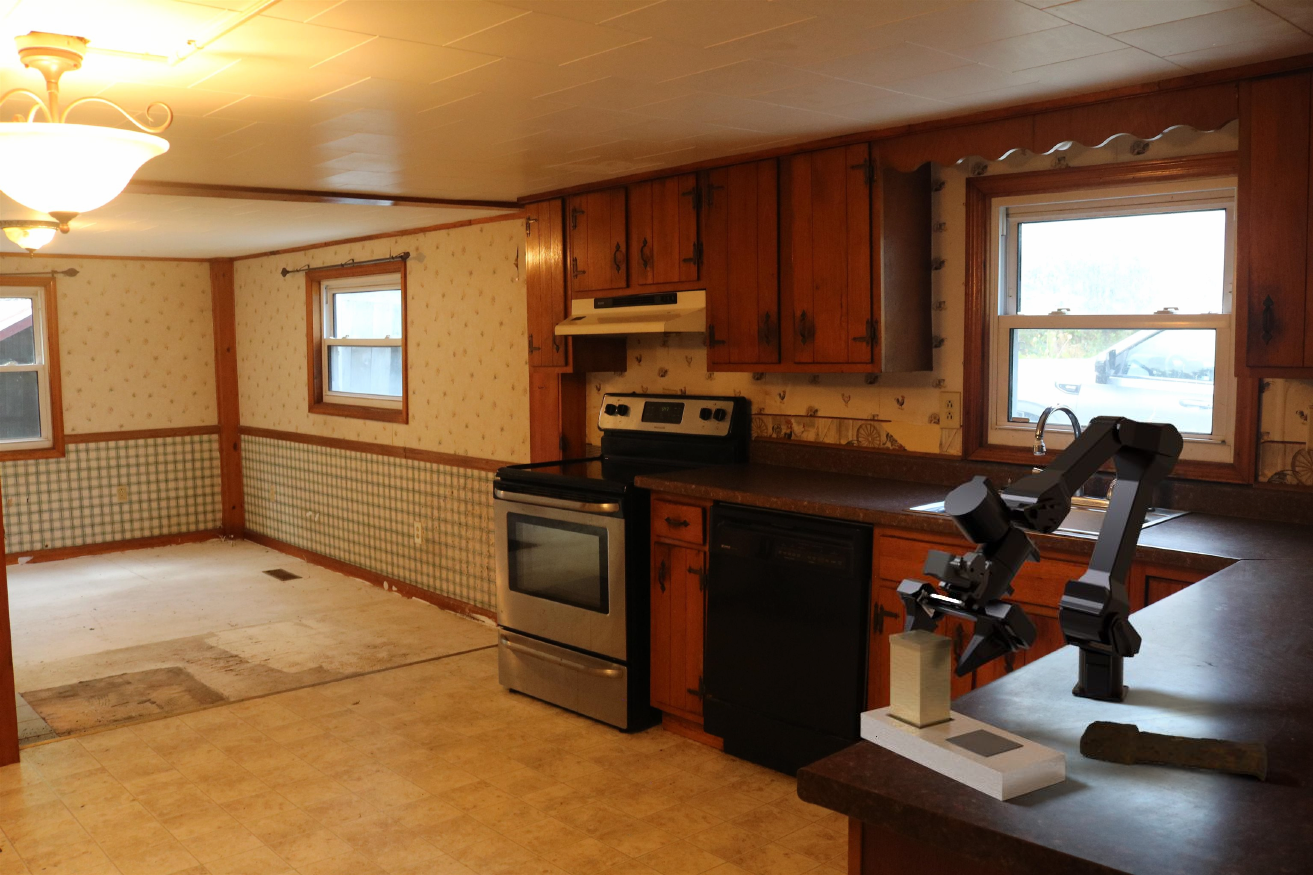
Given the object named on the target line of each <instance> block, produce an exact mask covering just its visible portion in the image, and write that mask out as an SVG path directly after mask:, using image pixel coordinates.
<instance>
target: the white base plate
mask: <svg viewBox="0 0 1313 875" xmlns="http://www.w3.org/2000/svg"><path fill="white" fill-rule="evenodd" d="M876 736H877V737H876ZM860 737H861V738H863V739H865V740H867V741H869V742H872V743H874V744H876V745H879V746H880V747H882V748H885V749H887V750H890V751H892V752H893V753H896V754H898V755H900V756H902V757H904V758H907V759H909V760H911V761H914V762H916V763H918V764H919V765H922V766H924V767H926V768H929V769H931V770H933V771H935V772H938V773H940V774H941V775H944V776H946V777H948V778H950V779H953V780H955V781H958V782H960V783H961V784H963V785H966V786H968V787H970V788H973V789H974V790H977V791H979V792H981V793H983V794H986V795H988V796H990V797H993V798H994V799H997V800H999V801H1001V802H1003V801H1006V800H1010V799H1012V798H1016V797H1019V796H1022V795H1025V794H1028V793H1030V792H1031V793H1032V792H1034V791H1037V790H1039V789H1043V788H1046V787H1049V786H1052V785H1055V784H1059V783H1062V782H1064V781H1066V753H1065V752H1061V751H1059V750H1056V749H1054V748H1052V747H1048V746H1046V745H1043V744H1041V743H1038V742H1035V741H1033V740H1030V739H1027V738H1024V737H1023V736H1019V735H1017V734H1015V733H1011V732H1009V731H1006V730H1004V729H1001V728H998V727H995V726H993V725H990V724H988V723H986V722H983V721H980V720H977V719H974V718H972V717H970V716H967V715H964V714H961V713H959V712H956V711H954V710H952V709H950V722H946V723H943V724H939V725H935V726H931V727H927V728H923V729H917V728H915V727H913V726H910V725H908V724H905V723H903V722H901V721H898V720H896V719H893V718H891V717H890V705H889V706H884V707H881V708H877V709H873V710H872V709H871V710H868V711H864V712H861V713H860Z"/></svg>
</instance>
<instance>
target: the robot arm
mask: <svg viewBox="0 0 1313 875" xmlns="http://www.w3.org/2000/svg"><path fill="white" fill-rule="evenodd" d="M1183 449H1184V438H1183V435H1182V433H1181V432H1179V429H1178V428H1177V427H1176V426H1175V425H1174V424H1173V423H1171V422H1169V423H1168V422H1153V421H1152V422H1151V421H1147V422H1146V421H1138V420H1134V419H1130V418H1127V417H1126V416H1124V415H1123V416H1119V415H1097V416H1095V417H1092V418H1091V419H1090V420H1089V422H1088V424H1087V427H1086V428H1085V429H1084V430H1083V431H1082V432H1081V433H1080V434H1079V435H1078V436H1077V437H1075V439H1074V440H1073V441H1072V442H1070V444H1069V445H1067V447H1065V448H1064V449H1063V451H1061V452H1060V453H1059V454H1058V455H1057V456H1056V457H1055V458H1054V459H1053V460H1052V461H1051V462H1050V463H1049V464H1048V465H1047V466H1046V467H1045V468H1044V469H1042V470H1040V471H1039V472H1037V473H1034V474H1031V475H1027V476H1025V477H1022V478H1020V479H1018V480H1017V481H1015V482H1014V483H1012V484H1010V485H1009V486H1008V487H1006V488H1005V489H1004V491H1003V492H1002V493H1001V494H999V491H998V490H997V489H996V487H995V486H994V483H993V481H992V480H991V479H990V477H989V476H984V475H975V476H974V477H973V478H972V479H971V481H969V482H968V481H967V482H965V483H962V484H961V485H959V486H958V487H956V488H955V489H953V490H952V491H950V492H949V493H948V494H947V496H946V497H945V499H944V503H943V508H944V511H945V512H946V513H947V514H948V516H949V517H950V518H951V520H952V521H953V523H954V524H955V525H956V526H957V527H958V529H959V530H960V531H961V533H962V534H963V535H964V537H965V538H966V539H967V540H968V541H969V542H970V543H972V544H975V545H977V544H978V546H977V547H976V549H975V551H974V552H971V551H967V552H966V553H965V554H964V555H963V556H962V555H956V554H955V553H954V554H953V553H952V552H951V553H950V552H947V551H946V552H945V551H941V550H936V549H929V550H928V553H927V556H926V559H925V563H924V565H923V568H922V570H921V574H922V575H923V576H929V577H932V578H934V579H936V580H938V581H940V582H939V583H938V586H939V588H940V589H941V590H942V591H944V592H945V593H946V594H947V595H946V596H943V595H941V594H940V593H939V592H938V591H937V590H936V588H935V587H934V586H933V585H932V584H931V583H930V582H928V581H925V580H920V579H916V578H912V577H910V578H909V577H908V578H904V579H903V580H902V582H901V583H900V584H899V586H898V587H897V589H896V590H895V593H896V594H897V595H898V596H899V597H900V602H901V603H902V604H903V605H904V607H905V612H906V618H905V624H904V628H903V632H908V631H914V630H919V629H922V630H925V631H929V632H932V633H935V632H936V630H937V629H938V628H939V627H940V626H939V625H938V624H937V623H938V622H940V621H942V620H943V619H944V618H945V616H946V615H951V616H955V617H959V618H963V619H966V620H970V621H974V622H976V627H975V634H974V635H973V637H972V638H971V640H970V641H969V644H967V647H966V648H965V650H964V651H963V653H962V654H961V656H960V658H959V660H958V662H957V665H956V666H955V667H954V668H955V669H954V670H953V674H954V676H956V677H957V678H959V679H961V678H963V677H965V676H967V675H968V674H970V673H972V672H973V671H975V670H977V669H979V668H981V667H983V666H984V665H987V664H988V663H990V662H992V661H994V660H996V659H998V658H1001V657H1003V656H1004V655H1007V654H1009V653H1011V652H1013V653H1018V652H1019V651H1020V648H1022V649H1025V650H1030V649H1031V647H1032V646H1033V644H1034V643H1035V641H1036V639H1037V638H1038V629H1037V625H1036V624H1035V623H1034V622H1033V621H1032V619H1031V618H1030V617H1029V615H1028V614H1027V613H1026V611H1025V610H1024V609H1023V607H1022V606H1021V605H1020V604H1019V603H1014V602H1012V601H1007V600H1003V596H1007V597H1010V598H1011V597H1012V596H1013V594H1014V592H1016V591H1015V589H1014V588H1013V586H1012V584H1011V583H1013V580H1015V578H1016V577H1017V574H1019V572H1020V570H1021V568H1022V567H1023V565H1024V564H1025V563H1026V561H1027V562H1031V563H1036V564H1039V563H1041V560H1042V558H1041V553H1040V549H1039V546H1038V545H1039V544H1038V543H1039V542H1038V541H1037V540H1031V539H1030V538H1029V536H1028V535H1027V534H1026V532H1030V533H1031V532H1032V533H1037V534H1043V535H1050V534H1051V535H1052V534H1053V533H1055V532H1056V531H1057V530H1058V529H1059V527H1060V526H1061V525H1062V524H1063V522H1064V521H1065V520H1066V518H1067V516H1068V515H1069V514H1070V513H1071V511H1072V498H1073V497H1074V496H1075V494H1076V493H1077V492H1078V491H1079V490H1080V489H1081V488H1082V487H1083V486H1084V485H1085V484H1086V483H1087V482H1088V481H1089V480H1090V479H1091V478H1093V476H1094V475H1095V474H1096V473H1097V472H1098V471H1099V470H1100V469H1101V468H1102V467H1103V466H1104V465H1105V464H1106V463H1107V462H1108V461H1109V460H1110V459H1111V461H1112V464H1113V467H1114V468H1113V469H1114V471H1115V475H1116V479H1115V483H1114V485H1113V489H1112V492H1111V495H1110V497H1109V502H1108V505H1107V507H1106V511H1105V514H1104V518H1103V520H1102V524H1101V526H1100V530H1099V533H1098V534H1097V535H1098V536H1097V538H1096V539H1097V540H1096V542H1095V545H1094V549H1093V552H1092V555H1091V557H1090V561H1089V564H1088V566H1087V567H1088V568H1087V569H1086V572H1085V573H1084V574H1083V575H1082V576H1081V577H1080V578H1078V579H1073V578H1069V579H1068V580H1067V581H1066V583H1065V585H1064V590H1063V594H1062V596H1061V599H1060V601H1059V602H1058V607H1059V610H1058V616H1057V618H1058V621H1059V622H1058V623H1059V626H1060V630H1061V633H1062V638H1063V642H1064V644H1065V645H1068V646H1074V647H1077V648H1078V675H1077V676H1078V681H1077V682H1076V684H1074V687H1073V688H1072V689H1071V694H1072V695H1074V696H1079V697H1086V698H1094V699H1100V700H1105V701H1106V700H1108V701H1114V702H1119V703H1121V702H1124V701H1125V699H1126V697H1127V695H1128V692H1129V690H1130V686H1129V685H1125V684H1124V671H1125V670H1124V666H1125V665H1124V664H1125V662H1124V660H1125V658H1135V655H1137V654H1139V653H1140V650H1141V644H1142V640H1143V638H1142V637H1141V635H1140V634H1139V633H1138V631H1137V630H1136V628H1135V627H1134V626H1133V624H1132V623H1131V622H1130V620H1129V618H1130V617H1129V616H1130V612H1131V603H1130V600H1129V597H1128V593H1127V590H1126V586H1125V585H1126V580H1127V577H1128V574H1129V571H1130V567H1131V564H1132V562H1133V558H1134V554H1135V551H1136V549H1137V545H1138V542H1139V538H1140V536H1141V532H1142V529H1143V526H1144V523H1145V520H1146V516H1147V512H1148V511H1149V510H1148V509H1149V507H1150V504H1151V501H1152V497H1153V494H1154V491H1155V488H1156V487H1157V486H1159V484H1160V483H1162V482H1163V481H1164V480H1165V479H1166V478H1167V477H1168V476H1170V475H1171V474H1172V473H1173V472H1174V469H1175V467H1176V465H1177V463H1178V461H1179V458H1180V455H1181V454H1182V451H1183ZM1025 531H1026V532H1025Z"/></svg>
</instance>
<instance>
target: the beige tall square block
mask: <svg viewBox="0 0 1313 875" xmlns="http://www.w3.org/2000/svg"><path fill="white" fill-rule="evenodd" d="M888 636H889V638H888V640H889V643H890V648H889V649H890V650H889V651H890V652H889V654H890V657H889V658H890V661H889V662H890V663H889V664H890V670H889V671H890V672H889V673H890V677H889V678H890V684H889V685H890V688H889V689H890V690H889V691H890V693H889V694H890V695H889V696H890V699H889V701H890V702H889V704H890V705H889V706H890V717H891V718H893V719H896V720H898V721H901V722H903V723H905V724H908V725H910V726H913V727H915V728H917V729H923V728H927V727H931V726H935V725H939V724H943V723H946V722H950V710H951V679H952V678H951V673H952V672H951V665H952V663H951V660H952V658H951V657H952V656H951V655H952V654H951V653H952V651H951V650H952V648H951V647H952V646H953V638H952V637H949V636H945V635H941V634H938V633H935V632H933V633H932V632H929V631H925V630H922V629H919V630H914V631H908V632H904V631H903V632H899V633H894V634H889V635H888Z"/></svg>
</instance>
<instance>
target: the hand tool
mask: <svg viewBox="0 0 1313 875" xmlns="http://www.w3.org/2000/svg"><path fill="white" fill-rule="evenodd" d="M1079 754H1081V756H1084V757H1086V758H1091V759H1095V760H1099V761H1101V760H1102V762H1110V763H1115V764H1121V765H1125V766H1126V765H1127V766H1134V765H1136V764H1139V763H1149V764H1161V765H1165V766H1166V765H1169V766H1175V767H1176V766H1177V767H1179V766H1180V767H1186V768H1192V769H1193V768H1194V769H1200V770H1206V771H1207V770H1208V771H1216V772H1223V773H1229V774H1235V775H1249V776H1250V775H1251V776H1255V777H1257V778H1258V779H1259V780H1260V781H1261V782H1264V781H1265V780H1266V777H1267V773H1268V772H1267V770H1268V753H1267V749H1266V746H1265V743H1264V742H1262V741H1259V740H1257V741H1251V742H1242V741H1241V742H1240V741H1233V740H1228V739H1222V738H1220V739H1218V738H1214V737H1213V738H1211V737H1209V738H1208V737H1201V738H1199V737H1192V736H1184V735H1183V736H1181V735H1172V734H1162V733H1157V732H1152V731H1145V730H1143V731H1140V729H1139V727H1138V725H1137V724H1134V723H1123V722H1122V723H1121V722H1116V721H1110V720H1094V721H1093V722H1092V723H1088V725H1087V727H1086V729H1085V730H1084V732H1083V733H1082V735H1081V736H1080V740H1079Z"/></svg>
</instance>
